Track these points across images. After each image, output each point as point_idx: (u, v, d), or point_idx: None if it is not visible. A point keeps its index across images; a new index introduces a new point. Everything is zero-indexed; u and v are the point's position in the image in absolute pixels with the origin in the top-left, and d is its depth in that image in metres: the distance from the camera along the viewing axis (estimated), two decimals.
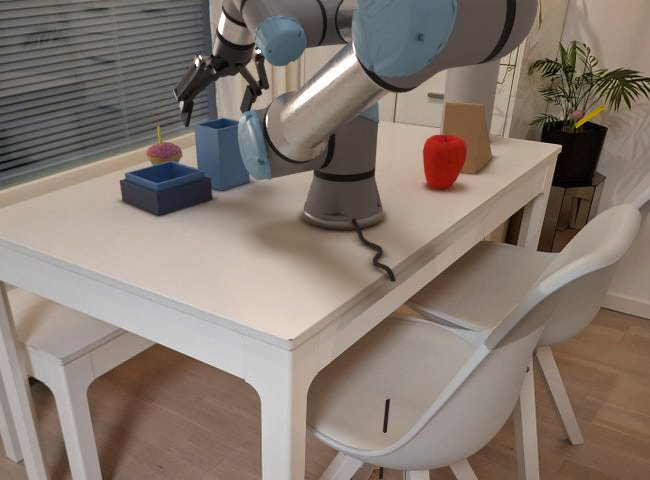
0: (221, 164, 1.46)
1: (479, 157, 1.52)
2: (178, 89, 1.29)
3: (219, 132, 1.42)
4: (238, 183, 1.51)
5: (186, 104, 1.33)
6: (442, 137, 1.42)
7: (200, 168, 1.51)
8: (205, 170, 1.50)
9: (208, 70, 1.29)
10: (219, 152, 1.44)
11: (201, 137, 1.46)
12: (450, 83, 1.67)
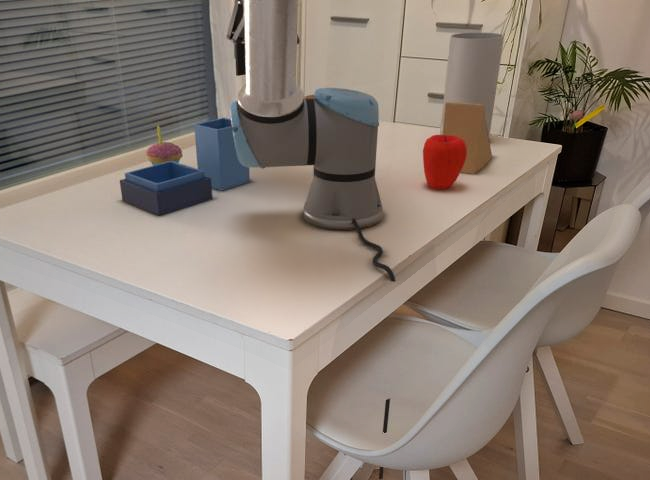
0: (221, 164, 1.46)
1: (479, 157, 1.52)
2: None
3: (219, 132, 1.42)
4: (238, 183, 1.51)
5: None
6: (442, 137, 1.42)
7: (200, 168, 1.51)
8: (205, 170, 1.50)
9: None
10: (219, 152, 1.44)
11: (201, 137, 1.46)
12: (450, 83, 1.67)
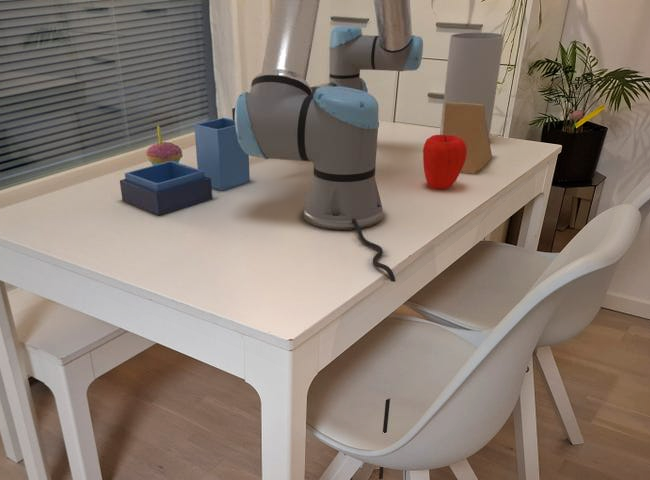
0: (221, 164, 1.46)
1: (479, 157, 1.52)
2: None
3: (219, 132, 1.42)
4: (238, 183, 1.51)
5: None
6: (442, 137, 1.42)
7: (200, 168, 1.51)
8: (205, 170, 1.50)
9: None
10: (219, 152, 1.44)
11: (201, 137, 1.46)
12: (450, 83, 1.67)
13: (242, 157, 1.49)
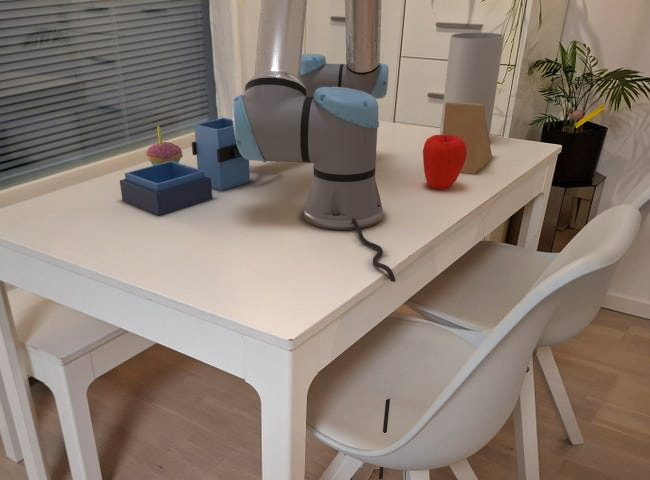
0: (221, 164, 1.46)
1: (479, 157, 1.52)
2: None
3: (219, 132, 1.42)
4: (238, 183, 1.51)
5: None
6: (442, 137, 1.42)
7: (200, 168, 1.51)
8: (205, 170, 1.50)
9: None
10: None
11: (201, 137, 1.46)
12: (450, 83, 1.67)
13: (242, 157, 1.49)
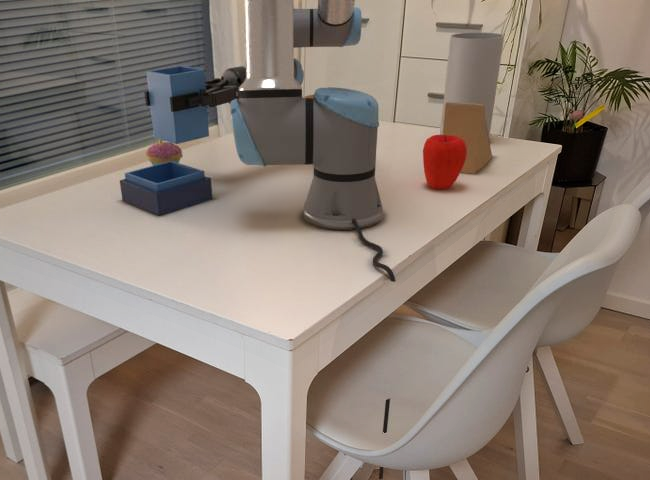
0: (176, 114, 1.33)
1: (479, 157, 1.52)
2: None
3: (171, 78, 1.30)
4: (196, 137, 1.38)
5: None
6: (442, 137, 1.42)
7: (154, 120, 1.38)
8: (159, 122, 1.37)
9: None
10: None
11: (154, 85, 1.34)
12: (450, 83, 1.67)
13: (199, 108, 1.36)
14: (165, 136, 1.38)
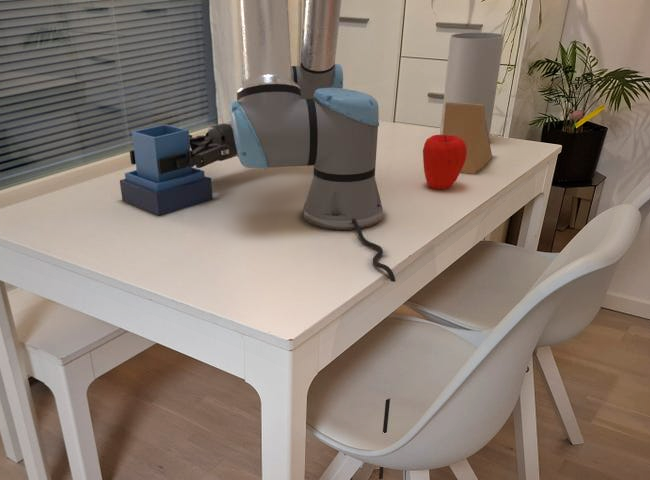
0: (160, 174, 1.36)
1: (479, 157, 1.52)
2: None
3: (156, 140, 1.32)
4: None
5: None
6: (442, 137, 1.42)
7: None
8: None
9: None
10: (157, 161, 1.34)
11: (139, 146, 1.37)
12: (450, 83, 1.67)
13: None
14: None
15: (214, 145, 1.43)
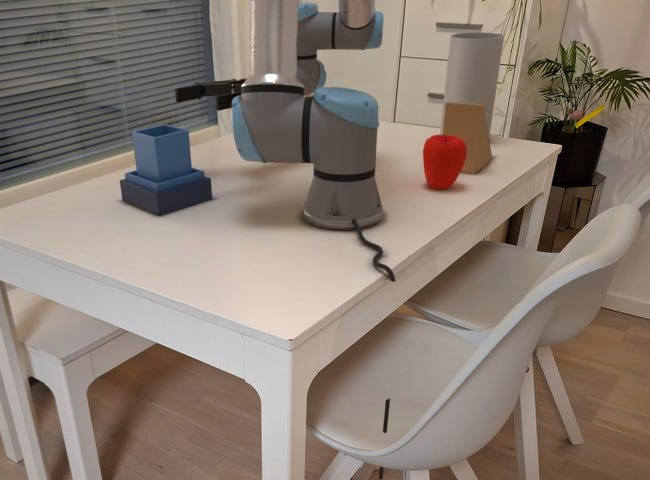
0: (160, 174, 1.36)
1: (479, 157, 1.52)
2: None
3: (156, 140, 1.32)
4: None
5: None
6: (442, 137, 1.42)
7: None
8: None
9: None
10: (157, 161, 1.34)
11: (139, 146, 1.37)
12: (450, 83, 1.67)
13: (184, 166, 1.39)
14: None
15: None
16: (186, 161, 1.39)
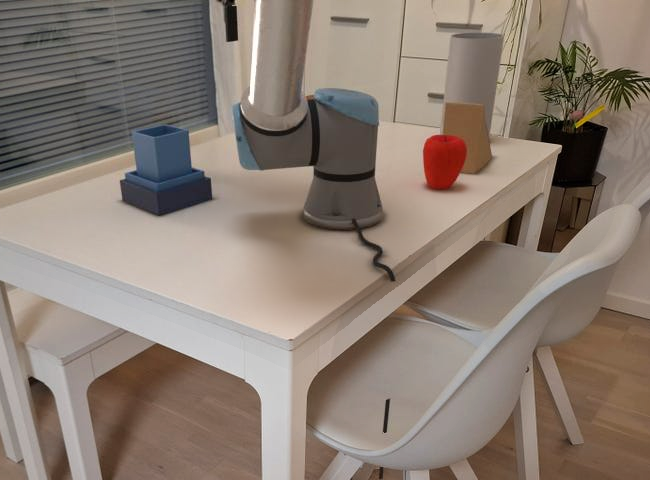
0: (160, 174, 1.36)
1: (479, 157, 1.52)
2: None
3: (156, 140, 1.32)
4: None
5: None
6: (442, 137, 1.42)
7: None
8: None
9: None
10: (157, 161, 1.34)
11: (139, 146, 1.37)
12: (450, 83, 1.67)
13: (184, 166, 1.39)
14: None
15: None
16: (186, 161, 1.39)
